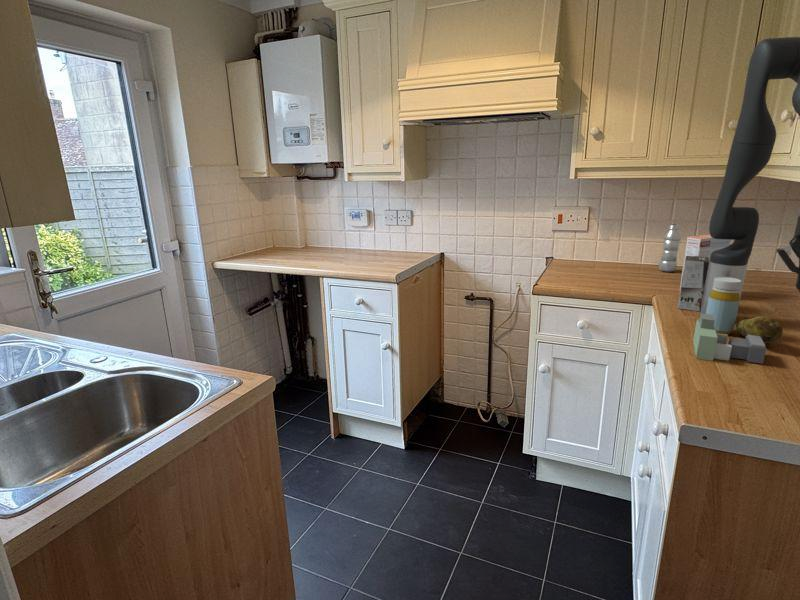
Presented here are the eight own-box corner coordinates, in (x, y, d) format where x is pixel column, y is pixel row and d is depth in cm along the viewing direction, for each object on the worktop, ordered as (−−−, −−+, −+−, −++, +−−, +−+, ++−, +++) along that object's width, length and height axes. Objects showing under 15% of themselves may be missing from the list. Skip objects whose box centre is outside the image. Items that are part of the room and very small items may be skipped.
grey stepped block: (726, 347, 120) (729, 331, 119) (757, 352, 118) (760, 336, 116) (730, 358, 114) (733, 342, 113) (762, 363, 111) (766, 346, 110)
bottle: (705, 325, 137) (714, 275, 133) (733, 330, 133) (744, 278, 129) (701, 331, 132) (710, 280, 128) (731, 337, 128) (742, 284, 124)
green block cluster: (693, 340, 126) (698, 310, 124) (723, 345, 123) (730, 314, 120) (695, 358, 115) (701, 325, 113) (729, 363, 112) (736, 330, 109)
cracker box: (706, 289, 174) (717, 233, 168) (721, 294, 168) (733, 235, 162) (677, 293, 170) (686, 235, 164) (691, 297, 164) (702, 238, 158)
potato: (769, 337, 128) (775, 309, 126) (781, 354, 117) (789, 324, 115) (732, 332, 131) (738, 305, 129) (741, 349, 120) (747, 319, 118)
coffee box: (700, 311, 150) (709, 261, 145) (677, 308, 153) (685, 259, 148) (700, 304, 157) (709, 256, 152) (678, 301, 160) (686, 254, 156)
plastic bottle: (654, 270, 204) (661, 224, 199) (667, 269, 206) (674, 223, 201) (666, 273, 198) (674, 226, 193) (679, 272, 200) (687, 225, 195)
